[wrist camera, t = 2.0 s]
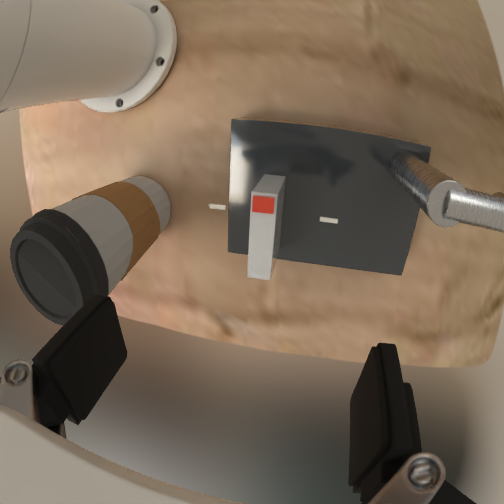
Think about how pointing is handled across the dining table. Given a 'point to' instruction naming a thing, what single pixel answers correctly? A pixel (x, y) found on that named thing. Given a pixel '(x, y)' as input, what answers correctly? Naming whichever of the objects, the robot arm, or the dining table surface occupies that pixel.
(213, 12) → the dining table surface
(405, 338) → the dining table surface
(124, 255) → the coffee cup
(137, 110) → the dining table surface
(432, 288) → the dining table surface
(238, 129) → the base
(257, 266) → the tap handle
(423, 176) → the spout
